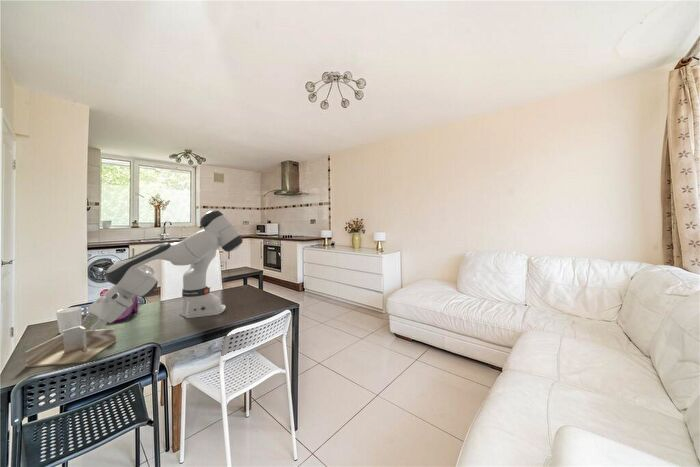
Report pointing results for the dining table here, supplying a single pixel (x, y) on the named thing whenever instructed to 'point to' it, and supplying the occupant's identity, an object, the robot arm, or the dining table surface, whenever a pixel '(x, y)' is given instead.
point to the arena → (55, 355)
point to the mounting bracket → (128, 310)
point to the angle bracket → (74, 339)
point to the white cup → (69, 318)
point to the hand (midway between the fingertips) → (87, 327)
